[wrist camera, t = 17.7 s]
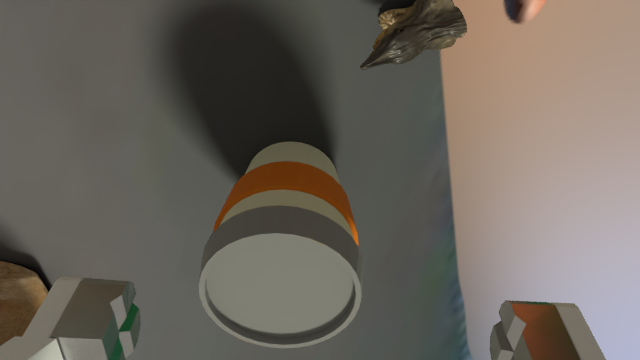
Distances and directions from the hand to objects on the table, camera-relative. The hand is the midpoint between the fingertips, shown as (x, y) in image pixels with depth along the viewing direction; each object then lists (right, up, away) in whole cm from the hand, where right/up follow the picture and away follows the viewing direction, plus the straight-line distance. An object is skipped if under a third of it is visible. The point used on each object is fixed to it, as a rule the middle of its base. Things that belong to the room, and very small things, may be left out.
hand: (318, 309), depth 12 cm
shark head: (+7, +16, +31) cm, 35 cm away
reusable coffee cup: (-3, +3, +40) cm, 40 cm away
